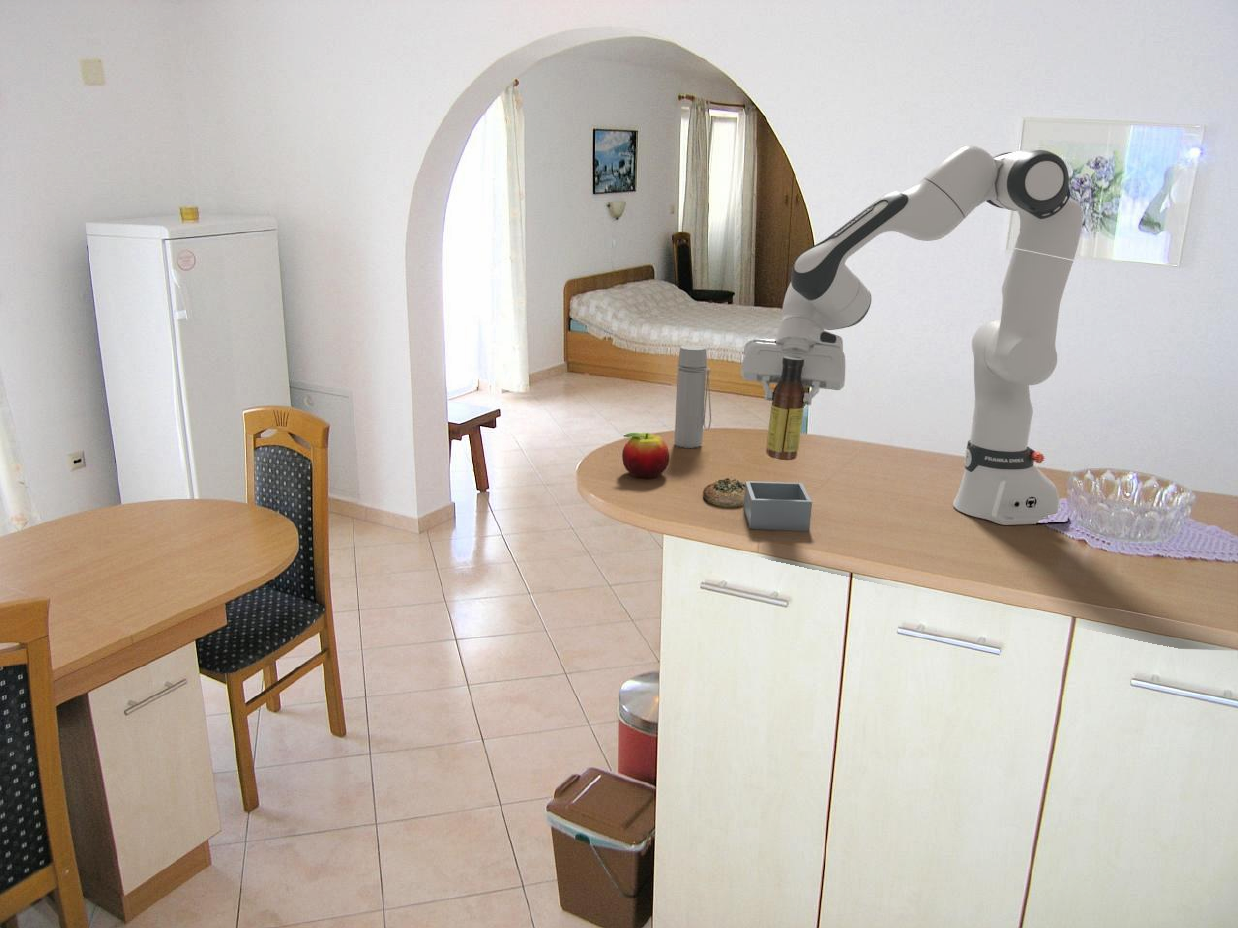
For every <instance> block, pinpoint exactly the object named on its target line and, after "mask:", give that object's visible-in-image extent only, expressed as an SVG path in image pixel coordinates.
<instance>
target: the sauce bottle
mask: <svg viewBox="0 0 1238 928" xmlns="http://www.w3.org/2000/svg"><path fill="white" fill-rule="evenodd" d="M782 363H783V370H782V375H781V380H780V381H779V383H778V384H776V385H775V387H774V388H773V390H774V393H773V401H771V407H770V414H769V421H768V422H769V424H768V431H767V432H768V433H767V440H766V454H767V456H768V457H769V458H772V459H777V460H781V461H792V460H795V459H796V458H797V456H798V451H799V447H800V446H799V445H800V438H801V433H802V422H803V415H804V409H805V407H804V405H805V404H803V398H804V393H806V391H805V389H804V387H803V386H802V383H801V372H802V367H803V365H804V359H803V358H800V357H796V356H784V357H783V361H782Z"/></svg>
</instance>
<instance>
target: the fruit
mask: <svg viewBox="0 0 1238 928" xmlns="http://www.w3.org/2000/svg"><path fill="white" fill-rule="evenodd" d="M623 437H624V438H630V439H628V440H627V441H626V443H625V444H624V446H623V449H622V454H621V457H622V458H621V459H622V464H623V467H624V468H625V470H626V471H627V473H629V474H630V475H632V476H633V477H635V478H641V479H652V478H653V479H654V478H657V477H659V476H660V475H661V474H663V472H664V471H665V470H666V469H667V467H668V465H669V462H670V453H669V447H668V445H667V444H666V442H665V440H664V439H663V438H662V437H661V436H659V435H656V434H653V433H652V434H651V433H649V432H640V433H639V432H630V433H626V434H625V435H623Z"/></svg>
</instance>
